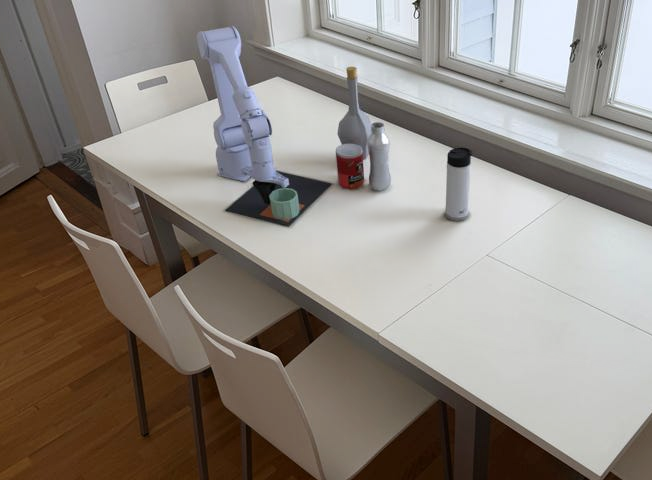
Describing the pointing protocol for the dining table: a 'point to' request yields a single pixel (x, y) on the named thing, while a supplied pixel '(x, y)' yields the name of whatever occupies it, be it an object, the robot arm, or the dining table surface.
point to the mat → (253, 201)
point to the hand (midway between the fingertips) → (268, 202)
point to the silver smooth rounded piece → (378, 157)
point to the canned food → (350, 166)
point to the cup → (284, 203)
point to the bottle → (354, 118)
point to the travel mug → (458, 183)
